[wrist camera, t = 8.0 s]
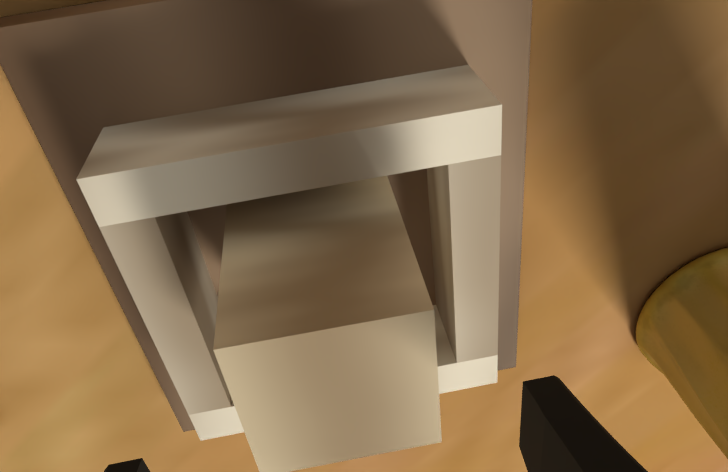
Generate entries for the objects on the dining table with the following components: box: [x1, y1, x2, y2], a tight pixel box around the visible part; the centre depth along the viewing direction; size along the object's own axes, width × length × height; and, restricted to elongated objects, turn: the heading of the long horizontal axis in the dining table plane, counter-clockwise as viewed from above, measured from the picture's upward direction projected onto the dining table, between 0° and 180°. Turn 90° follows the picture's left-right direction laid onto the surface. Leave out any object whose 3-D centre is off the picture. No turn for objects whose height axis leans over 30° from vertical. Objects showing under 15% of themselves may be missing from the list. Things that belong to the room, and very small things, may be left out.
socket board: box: [0, 0, 532, 440], centre depth 16 cm, size 12×14×4 cm
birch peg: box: [213, 176, 442, 472], centre depth 14 cm, size 4×4×6 cm
